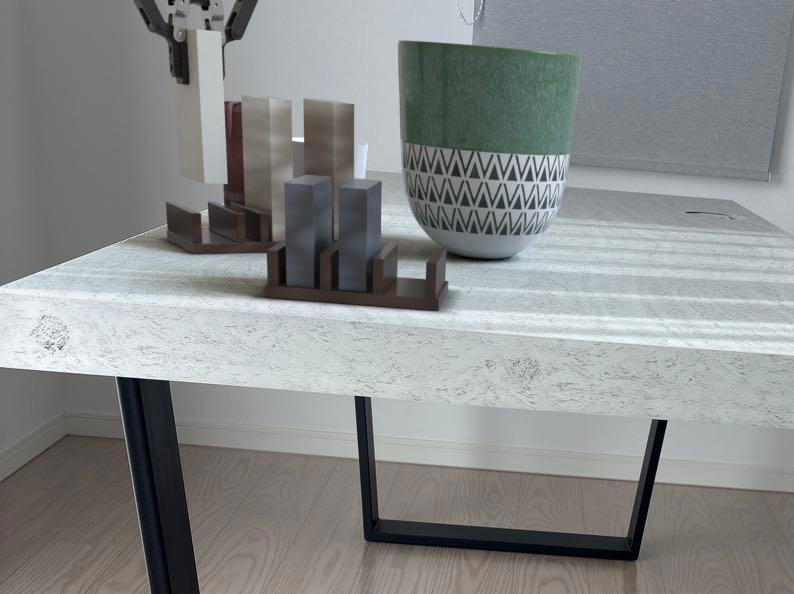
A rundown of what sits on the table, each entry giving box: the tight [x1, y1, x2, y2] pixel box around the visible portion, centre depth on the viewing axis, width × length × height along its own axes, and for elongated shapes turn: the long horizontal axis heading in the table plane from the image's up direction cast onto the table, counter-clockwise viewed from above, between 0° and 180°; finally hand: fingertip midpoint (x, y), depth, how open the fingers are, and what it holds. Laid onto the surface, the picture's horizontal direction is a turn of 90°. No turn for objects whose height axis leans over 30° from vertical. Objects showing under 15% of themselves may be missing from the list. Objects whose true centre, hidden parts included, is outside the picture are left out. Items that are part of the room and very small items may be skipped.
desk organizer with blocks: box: [263, 175, 449, 312], centre depth 93 cm, size 15×9×10 cm, turn 89°
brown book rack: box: [165, 94, 355, 255], centre depth 113 cm, size 20×9×15 cm, turn 124°
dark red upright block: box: [222, 100, 245, 207], centre depth 122 cm, size 6×6×14 cm
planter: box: [397, 39, 584, 260], centre depth 116 cm, size 20×20×21 cm
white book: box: [173, 28, 228, 185], centre depth 107 cm, size 2×8×14 cm, turn 34°
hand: (198, 84), depth 106 cm, fingers closed on white book, 2 cm apart
